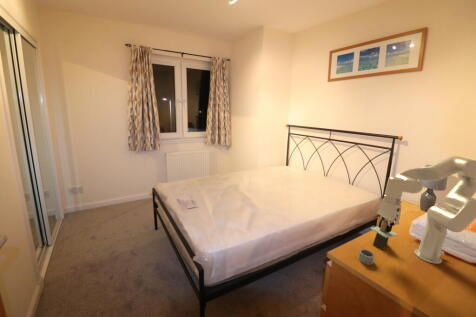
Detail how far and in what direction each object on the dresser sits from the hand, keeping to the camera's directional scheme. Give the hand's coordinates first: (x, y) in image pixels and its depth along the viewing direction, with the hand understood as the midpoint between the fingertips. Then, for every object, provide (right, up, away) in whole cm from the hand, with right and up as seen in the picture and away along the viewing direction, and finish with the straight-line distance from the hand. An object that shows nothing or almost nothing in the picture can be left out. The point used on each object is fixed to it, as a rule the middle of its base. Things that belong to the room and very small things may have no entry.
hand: (384, 229), depth 127 cm
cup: (-12, -17, -2) cm, 20 cm away
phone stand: (+7, -15, +15) cm, 22 cm away
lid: (0, -2, 0) cm, 2 cm away
